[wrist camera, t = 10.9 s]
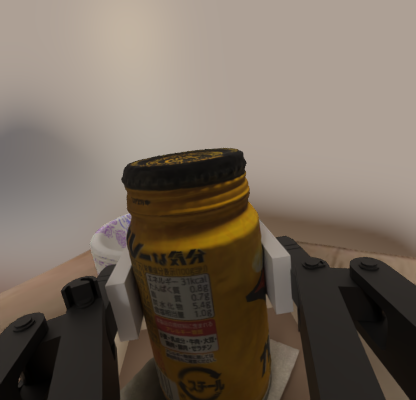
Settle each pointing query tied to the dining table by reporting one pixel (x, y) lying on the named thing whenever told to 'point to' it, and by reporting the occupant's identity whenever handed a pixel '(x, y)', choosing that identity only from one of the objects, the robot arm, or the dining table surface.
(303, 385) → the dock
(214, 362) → the condiment
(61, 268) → the dining table surface
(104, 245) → the paper bowls
